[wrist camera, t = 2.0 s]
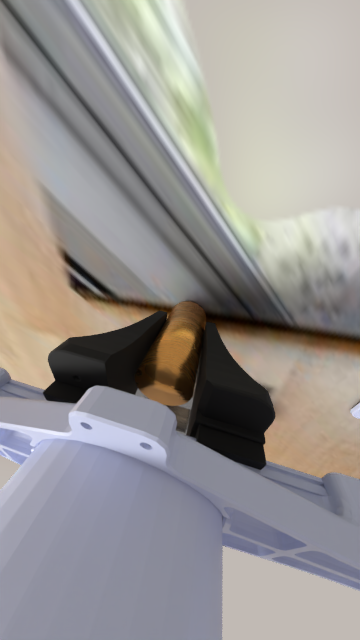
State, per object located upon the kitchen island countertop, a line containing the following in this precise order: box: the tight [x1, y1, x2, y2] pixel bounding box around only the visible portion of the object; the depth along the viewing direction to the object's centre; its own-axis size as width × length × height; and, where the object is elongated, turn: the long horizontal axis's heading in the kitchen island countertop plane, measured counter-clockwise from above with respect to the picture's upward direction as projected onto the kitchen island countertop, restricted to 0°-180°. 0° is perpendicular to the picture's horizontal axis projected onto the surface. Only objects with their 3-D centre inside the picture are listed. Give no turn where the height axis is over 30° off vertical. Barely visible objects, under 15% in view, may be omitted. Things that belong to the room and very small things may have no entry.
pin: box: [135, 301, 206, 406], centre depth 11 cm, size 3×3×7 cm
